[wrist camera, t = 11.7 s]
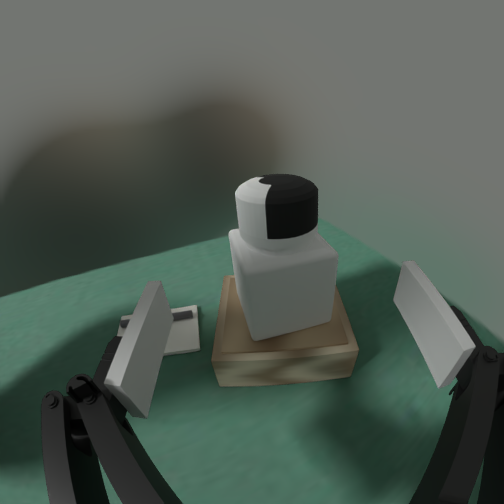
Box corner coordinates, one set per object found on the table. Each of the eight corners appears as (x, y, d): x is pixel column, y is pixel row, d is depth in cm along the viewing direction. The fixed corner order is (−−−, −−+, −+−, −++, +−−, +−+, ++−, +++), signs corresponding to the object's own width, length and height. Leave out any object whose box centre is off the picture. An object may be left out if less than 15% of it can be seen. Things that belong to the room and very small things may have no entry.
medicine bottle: (302, 278, 29) (302, 165, 23) (332, 322, 23) (344, 188, 17) (236, 292, 28) (220, 175, 22) (253, 343, 22) (235, 203, 16)
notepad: (116, 363, 26) (108, 352, 25) (124, 321, 32) (119, 310, 31) (201, 354, 27) (197, 342, 26) (198, 310, 33) (195, 299, 32)
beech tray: (219, 386, 23) (210, 359, 20) (228, 302, 33) (223, 273, 31) (350, 376, 22) (359, 348, 20) (327, 295, 32) (329, 266, 30)
